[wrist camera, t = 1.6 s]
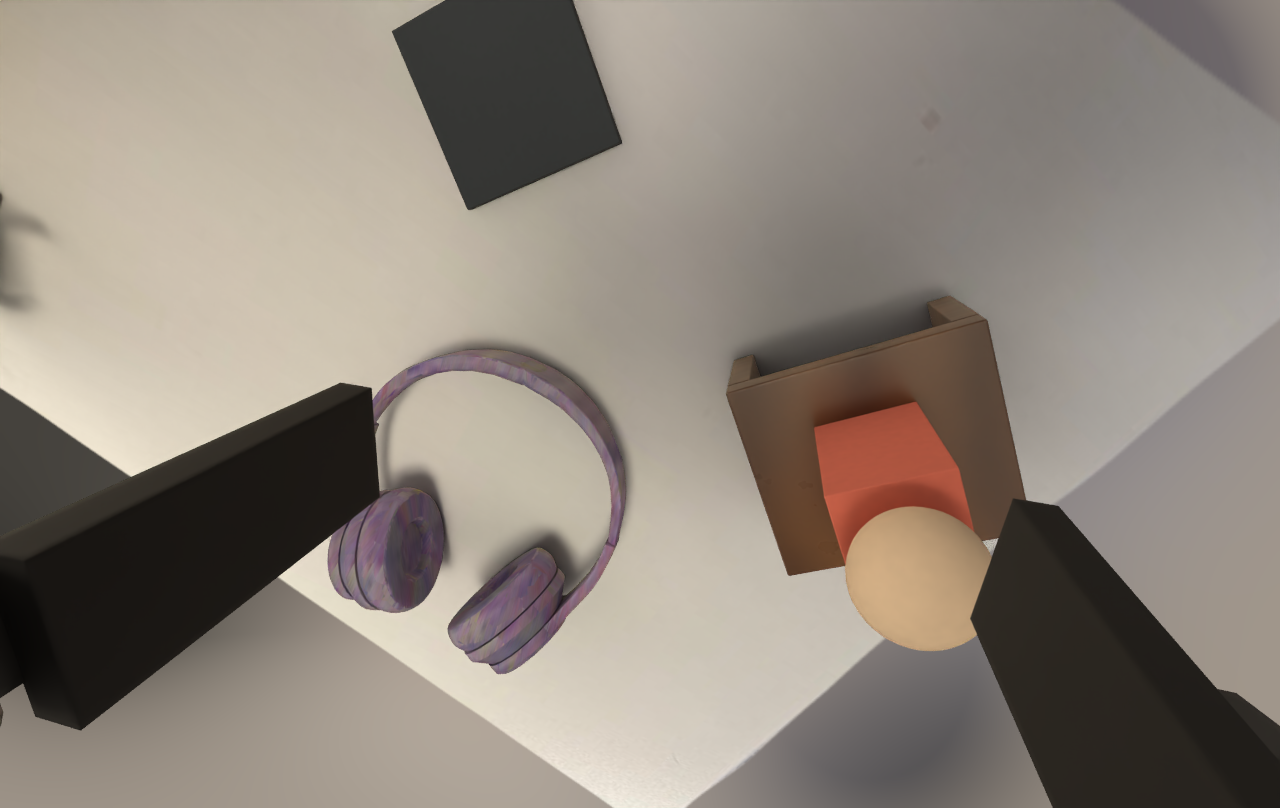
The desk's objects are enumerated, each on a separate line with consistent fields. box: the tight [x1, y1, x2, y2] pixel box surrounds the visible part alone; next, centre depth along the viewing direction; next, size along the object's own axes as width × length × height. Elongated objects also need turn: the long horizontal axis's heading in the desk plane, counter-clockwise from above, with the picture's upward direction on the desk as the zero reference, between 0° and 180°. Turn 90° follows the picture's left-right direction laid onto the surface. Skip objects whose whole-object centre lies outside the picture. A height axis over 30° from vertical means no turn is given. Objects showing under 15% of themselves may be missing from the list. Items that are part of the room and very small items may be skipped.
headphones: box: [328, 349, 626, 674], centre depth 39 cm, size 18×8×20 cm
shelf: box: [726, 296, 1026, 576], centre depth 32 cm, size 12×11×6 cm
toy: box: [814, 402, 992, 651], centre depth 24 cm, size 5×5×12 cm
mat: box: [392, 0, 622, 210], centre depth 33 cm, size 10×10×1 cm
